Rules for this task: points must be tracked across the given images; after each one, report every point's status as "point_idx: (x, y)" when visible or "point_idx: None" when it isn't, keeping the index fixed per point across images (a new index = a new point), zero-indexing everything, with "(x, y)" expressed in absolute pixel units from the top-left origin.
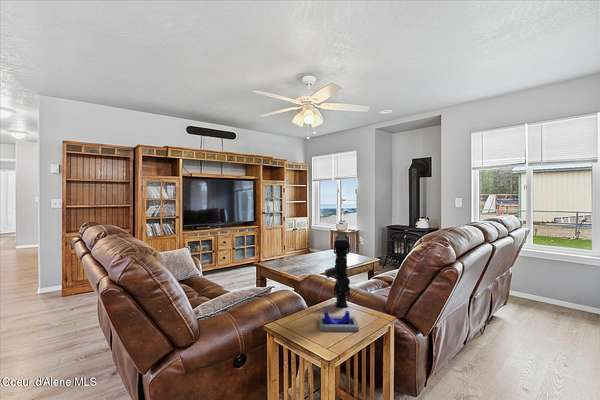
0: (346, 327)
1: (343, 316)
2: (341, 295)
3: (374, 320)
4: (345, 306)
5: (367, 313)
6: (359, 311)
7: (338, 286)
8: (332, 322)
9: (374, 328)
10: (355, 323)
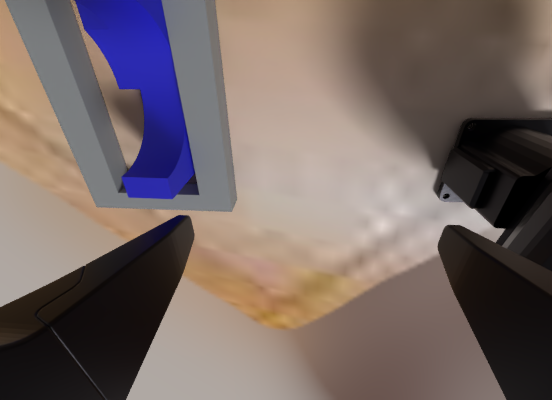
0: (71, 141)
1: (219, 146)
2: (175, 218)
3: (246, 278)
4: (443, 185)
5: (328, 272)
6: (359, 245)
7: (501, 251)
8: (101, 48)
9: None
10: (134, 199)
